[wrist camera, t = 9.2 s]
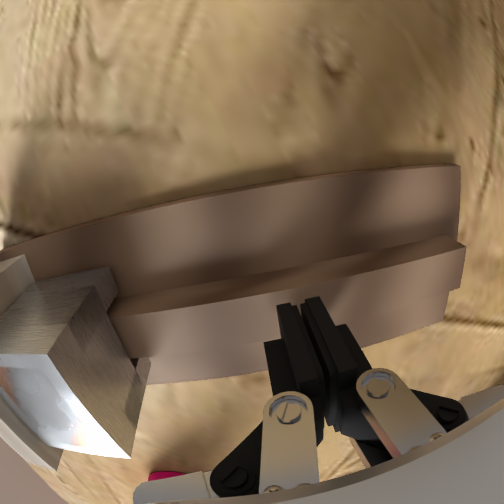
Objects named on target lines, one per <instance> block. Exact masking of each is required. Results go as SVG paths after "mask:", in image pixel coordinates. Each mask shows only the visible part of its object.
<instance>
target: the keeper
mask: <svg viewBox="0 0 504 504" xmlns="http://www.w3.org/2000/svg"><path fill="white" fill-rule="evenodd" d="M118 291H119V290H118V288H117V285H116V283H115V280H114V277H113V275H112V272H111V269H110V266H107V267H102V268H98V269H93V270H88V271H83V272H78V273H73V274H68V275H63V276H59V277H54V278H49V279H44V280H40V281H35V282H34V283H33V284H32V285H31V286H30V287H29V288H28V289H27V290H26V291H25V292H24V293H23V294H22V295H21V296H20V297H19V298H18V299H17V300H16V301H15V302H14V303H13V304H12V305H11V306H10V307H9V308H8V309H7V310H6V312H5V313H4V314H3V315H2V316H1V317H0V395H1V396H2V397H3V398H4V400H5V401H6V402H7V403H8V405H9V406H10V407H11V408H12V409H13V410H14V412H15V413H16V414H17V415H18V416H19V417H20V418H21V420H22V421H23V422H24V423H25V424H26V425H27V426H28V427H29V428H30V429H31V430H32V431H33V432H34V433H35V434H36V435H37V436H38V437H39V438H40V439H41V440H42V441H43V442H44V443H45V444H46V445H47V446H51V447H56V448H60V449H65V450H70V451H76V452H82V453H88V454H95V455H102V456H111V457H121V458H131V453H132V448H133V443H134V438H135V433H136V428H137V423H138V419H139V414H140V410H141V405H142V401H143V396H144V392H145V388H146V384H147V380H148V376H149V372H150V368H151V362H150V360H149V358H148V357H142V358H130V359H129V357H128V355H127V353H126V351H125V349H124V347H123V346H122V344H121V342H120V340H119V338H118V336H117V334H116V331H115V329H114V327H113V325H112V323H111V321H110V319H109V317H108V314H107V310H108V308H109V307H110V305H111V303H112V301H113V300H114V298H115V296H116V295H117V293H118Z"/></svg>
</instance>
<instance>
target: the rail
mask: <svg viewBox="0 0 504 504" xmlns="http://www.w3.org/2000/svg"><path fill="white" fill-rule="evenodd" d="M459 209H460V166H459V165H455V164H433V165H417V166H404V167H391V168H380V169H370V170H360V171H351V172H342V173H334V174H326V175H318V176H311V177H304V178H297V179H290V180H283V181H277V182H271V183H265V184H259V185H253V186H247V187H241V188H236V189H230V190H225V191H220V192H215V193H209V194H204V195H200V196H195V197H190V198H185V199H180V200H176V201H171V202H167V203H162V204H158V205H154V206H149V207H145V208H141V209H137V210H133V211H129V212H125V213H121V214H117V215H113V216H109V217H106V218H102V219H98V220H94V221H91V222H87V223H84V224H80V225H77V226H73V227H70V228H66V229H63V230H60V231H56V232H53V233H50V234H47V235H44V236H40V237H37V238H34V239H31V240H28V241H25V242H22V243H19V244H16V245H13V246H10V247H7V248H5V249H2V250H1V251H0V317H1V316H2V315H3V314H4V313H5V312H6V310H7V309H8V308H9V307H10V306H11V305H12V304H13V303H14V302H15V301H16V300H17V299H18V298H19V297H20V296H21V295H22V294H23V293H24V292H25V291H26V290H27V289H28V288H29V287H30V286H31V285H32V284H33V283H34V282H35V281H40V280H44V279H49V278H54V277H59V276H63V275H68V274H73V273H78V272H83V271H88V270H93V269H98V268H102V267H107V266H110V269H111V272H112V275H113V277H114V280H115V283H116V285H117V288H118V290H119V291H118V293H117V295H116V296H115V298H114V300H113V301H112V303H111V305H110V307H109V308H108V310H107V314H108V317H109V319H110V321H111V323H112V325H113V327H114V329H115V331H116V334H117V336H118V338H119V340H120V342H121V344H122V346H123V347H124V349H125V351H126V353H127V355H128V357H129V359H130V358H142V357H148V358H149V360H150V362H151V368H150V372H149V376H148V380H147V384H146V385H151V384H166V383H178V382H188V381H198V380H207V379H215V378H222V377H229V376H236V375H243V374H249V373H255V372H260V371H266V370H268V365H267V360H266V354H265V349H264V344H263V342H266V341H271V340H276V339H281V335H280V328H279V322H278V315H277V309H276V305H279V304H284V303H289V302H290V303H291V305H292V306H293V305H297V307H298V310H299V312H300V315H301V309H300V304H302V303H305V299H307V298H312V297H317V296H319V297H320V298H321V300H322V302H323V304H324V305H325V307H326V309H327V311H328V313H329V315H330V316H331V318H332V320H333V322H334V324H335V326H338V325H342V324H346V325H347V326H348V327H349V329H350V331H351V332H352V334H353V336H354V338H355V339H356V341H357V343H358V345H359V346H360V348H363V347H367V346H370V345H373V344H377V343H380V342H383V341H386V340H389V339H392V338H395V337H398V336H401V335H404V334H407V333H410V332H413V331H415V330H418V329H421V328H424V327H426V326H429V325H432V324H434V323H437V322H439V321H442V320H443V318H444V313H445V309H446V304H447V300H448V295H449V291H452V290H454V289H457V288H460V283H461V278H462V272H463V267H464V260H465V254H466V246H464V245H462V244H461V243H459V242H457V235H458V224H459ZM0 437H1V438H2V439H3V440H4V441H5V442H6V443H7V444H8V445H9V446H10V447H12V448H13V449H14V450H15V451H16V452H17V453H18V454H19V455H20V456H21V457H23V458H24V459H25V460H26V461H27V462H29V463H32V464H35V465H38V466H41V467H44V468H47V469H51V470H54V471H57V468H58V465H59V462H60V458H61V455H62V452H63V449H60V448H56V447H51V446H47V445H46V444H45V443H44V442H43V441H42V440H41V439H40V438H39V437H38V436H37V435H36V434H35V433H34V432H33V431H32V430H31V429H30V428H29V427H28V426H27V425H26V424H25V423H24V422H23V421H22V420H21V418H20V417H19V416H18V415H17V414H16V413H15V412H14V410H13V409H12V408H11V407H10V406H9V405H8V403H7V402H6V401H5V400H4V398H3V397H2V396H1V395H0Z"/></svg>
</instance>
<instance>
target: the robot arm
mask: <svg viewBox="0 0 504 504" xmlns="http://www.w3.org/2000/svg"><path fill="white" fill-rule="evenodd" d="M276 309H277V315H278V322H279V328H280V335H281V339H276V340H271V341H266V342H263V344H264V349H265V354H266V360H267V365H268V371H269V376H270V381H271V387H272V392H273V397H272V398H271V399H269V400H268V402H267V403H266V405H265V407H264V411H263V421H262V422H261V423H260V424H259V425H258V426H257V427H256V428H255V429H254V430H253V432H252V433H251V434H250V435H249V436H248V437H247V438H246V439H245V440H244V441H242V442H241V443H240V444H239V445H238V446H237V447H236V448H235V449H234V450H233V451H232V452H231V453H230V454H229V455H228V456H227V457H226V458H225V459H224V460H222V461H221V462H220V463H219V464H218V465H217V466H216V467H215V468H214V470H212V471H208V472H204V473H202V471H198V472H194V473H190V474H185V475H180V476H175V477H170V478H165V479H159V480H153V481H147V482H144V483H141V484H140V485H139V486H138V487H136V489H135V491H134V493H133V502H134V504H504V384H501V385H497V386H494V387H492V388H489V389H486V390H483V391H480V392H477V393H474V394H471V395H468V396H464V397H461V399H460V400H459V401H456V400H453V399H450V398H446V397H441V396H437V395H433V394H429V393H424V392H420V391H417V390H413V389H409V388H408V387H407V385H406V384H405V383H404V382H403V381H402V380H401V379H400V378H399V376H398V375H397V374H395V373H394V372H393V371H391V370H388V369H384V368H374V369H372V367H371V365H370V364H369V362H368V360H367V358H366V357H365V355H364V353H363V351H362V350H361V348H360V346H359V345H358V343H357V341H356V339H355V338H354V336H353V334H352V332H351V331H350V329H349V327H348V326H347V325H346V324H342V325H338V326H335V324H334V322H333V320H332V318H331V316H330V315H329V313H328V311H327V309H326V307H325V305H324V304H323V302H322V300H321V298H320V297H319V296H317V297H312V298H307V299H305V303H302V304H300V309H301V315H300V312H299V310H298V307H297V305H293V306H292V305H291V303H290V302H289V303H284V304H279V305H276ZM324 416H325V419H326V422H327V425H328V426H332V425H333V427H334V430H335V432H338V431H340V432H341V434H343V435H346V436H348V437H349V439H350V442H351V444H352V445H353V447H354V449H355V451H356V452H357V454H358V456H359V457H360V459H361V461H362V462H363V464H364V466H365V467H366V469H364V470H361V471H358V472H355V473H352V474H348V475H345V476H342V477H338V478H335V479H331V480H327V481H324V482H320V483H319V471H318V457H317V446H318V445H319V444H320V442H321V441H322V440H323V428H324Z"/></svg>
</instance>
